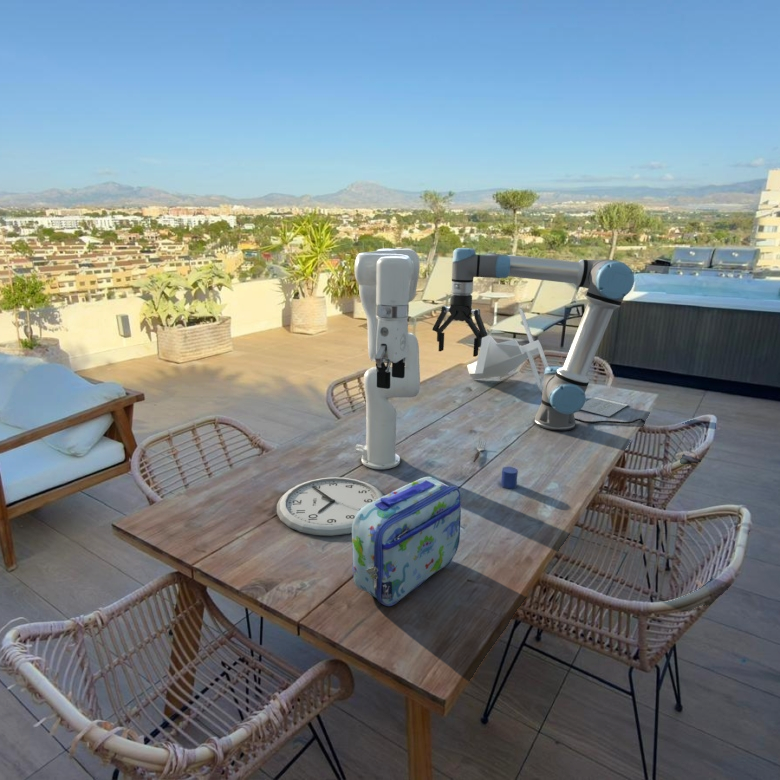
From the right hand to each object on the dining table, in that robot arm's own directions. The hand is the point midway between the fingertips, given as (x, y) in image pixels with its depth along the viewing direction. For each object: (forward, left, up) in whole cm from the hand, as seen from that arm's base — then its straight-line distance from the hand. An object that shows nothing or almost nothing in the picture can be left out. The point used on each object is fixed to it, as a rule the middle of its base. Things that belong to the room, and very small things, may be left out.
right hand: (457, 353), depth 189 cm
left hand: (+17, +66, +7) cm, 68 cm away
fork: (-8, +22, -30) cm, 38 cm away
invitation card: (-64, -37, -30) cm, 79 cm away
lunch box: (+10, +90, -30) cm, 95 cm away
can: (-16, +42, -30) cm, 54 cm away
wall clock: (+33, +62, -30) cm, 76 cm away
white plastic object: (-25, -61, -30) cm, 73 cm away
